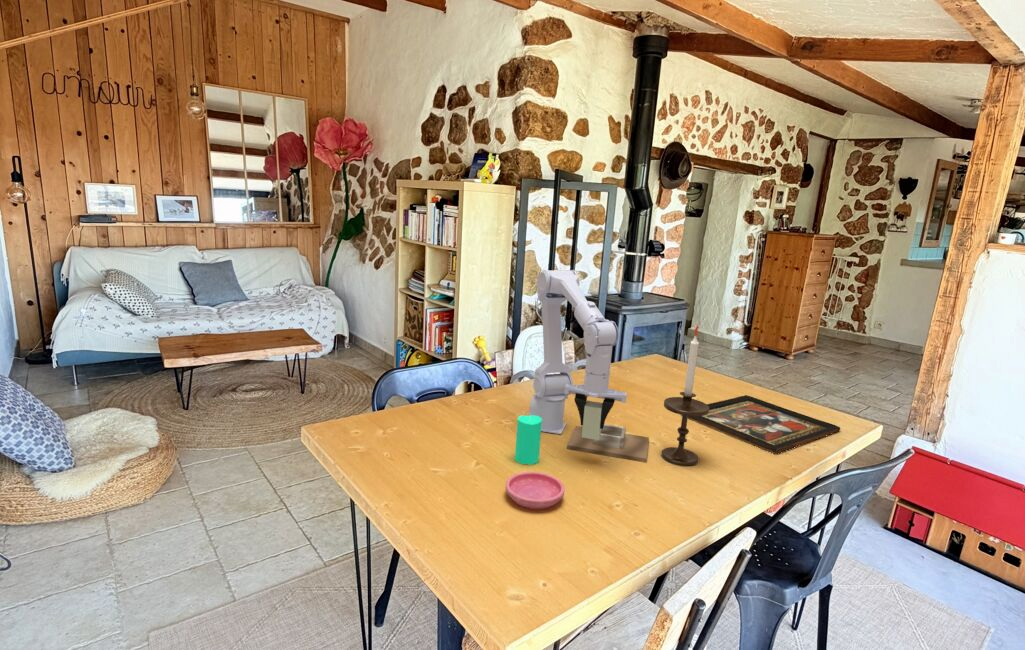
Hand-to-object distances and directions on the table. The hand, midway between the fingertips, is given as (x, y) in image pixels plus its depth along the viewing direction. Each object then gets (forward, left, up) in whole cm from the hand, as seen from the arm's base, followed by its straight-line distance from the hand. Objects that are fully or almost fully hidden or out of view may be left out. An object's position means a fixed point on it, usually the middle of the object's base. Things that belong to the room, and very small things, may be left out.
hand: (592, 425), depth 135 cm
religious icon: (+45, +47, -10) cm, 66 cm away
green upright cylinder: (-14, -5, -10) cm, 18 cm away
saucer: (-8, -22, -10) cm, 25 cm away
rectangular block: (0, 0, -3) cm, 3 cm away
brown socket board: (+4, +12, -9) cm, 16 cm away
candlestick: (+22, +11, -10) cm, 26 cm away
